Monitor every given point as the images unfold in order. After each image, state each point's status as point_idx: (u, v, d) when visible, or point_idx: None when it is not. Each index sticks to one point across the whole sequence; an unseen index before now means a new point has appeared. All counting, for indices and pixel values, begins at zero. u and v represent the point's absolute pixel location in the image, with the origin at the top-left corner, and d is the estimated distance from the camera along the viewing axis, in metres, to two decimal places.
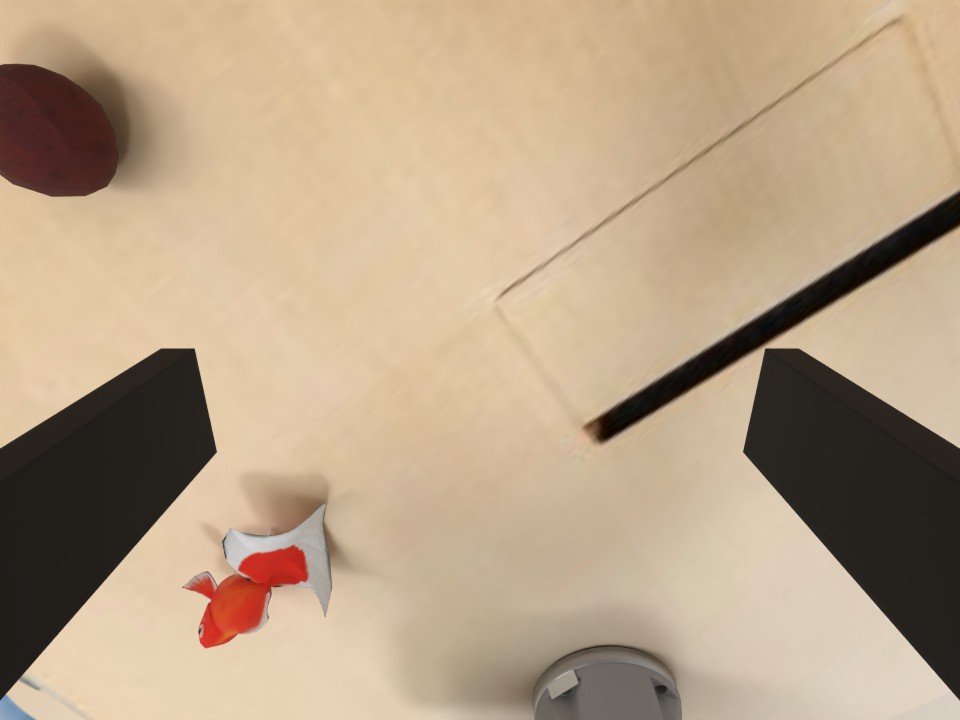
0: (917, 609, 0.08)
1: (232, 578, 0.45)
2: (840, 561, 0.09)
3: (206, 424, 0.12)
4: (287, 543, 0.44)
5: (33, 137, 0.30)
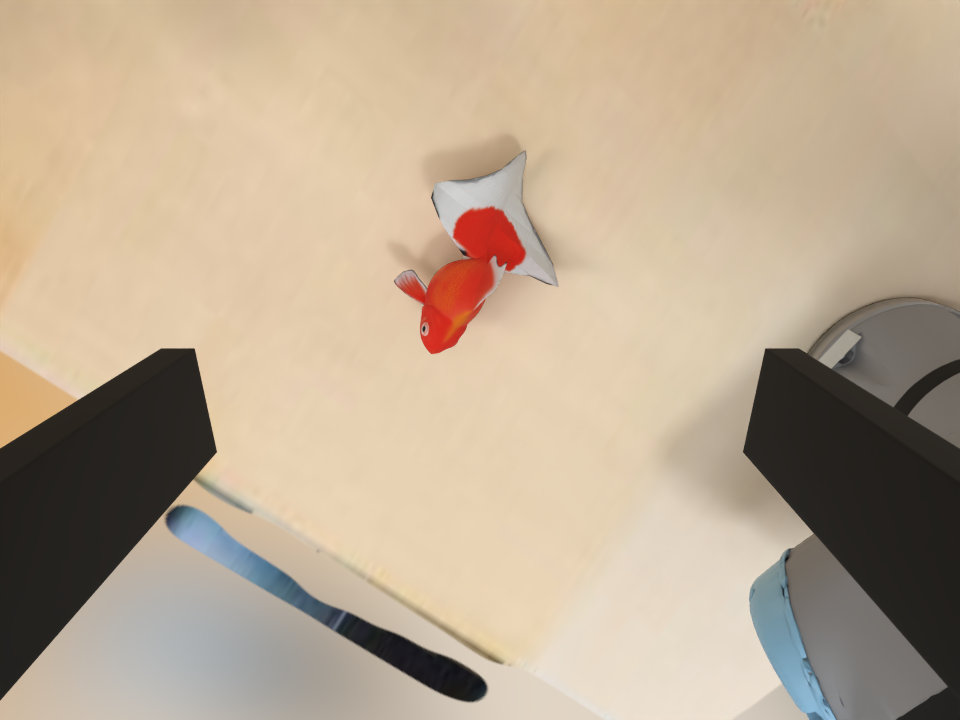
0: (916, 609, 0.08)
1: (444, 266, 0.39)
2: (840, 561, 0.09)
3: (206, 424, 0.12)
4: (498, 202, 0.38)
5: None
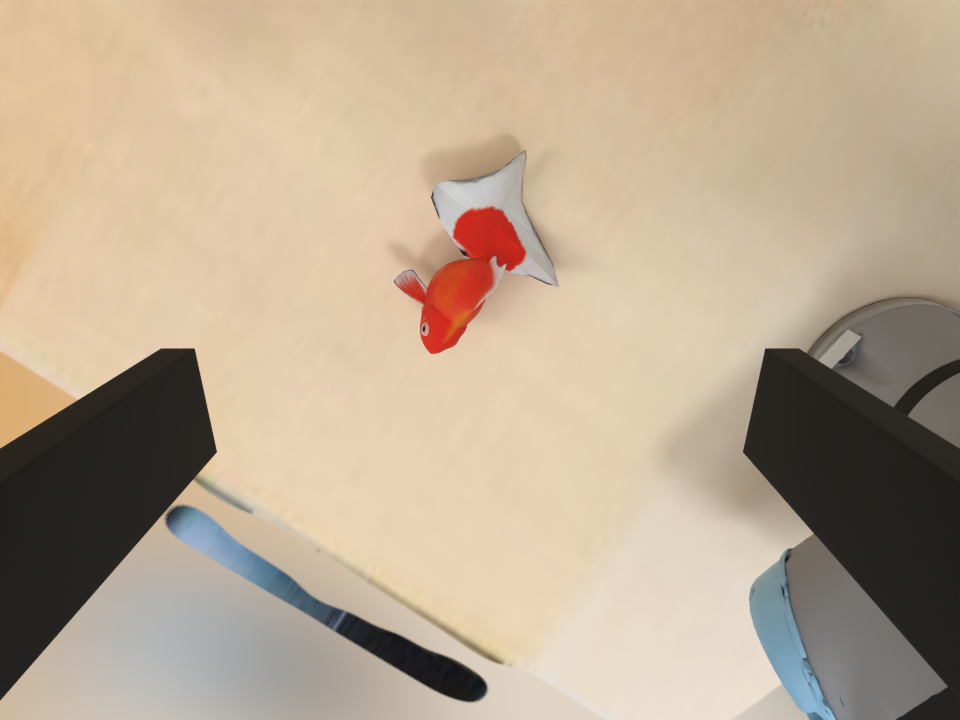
0: (916, 609, 0.08)
1: (444, 266, 0.39)
2: (840, 561, 0.09)
3: (206, 424, 0.12)
4: (498, 202, 0.38)
5: None
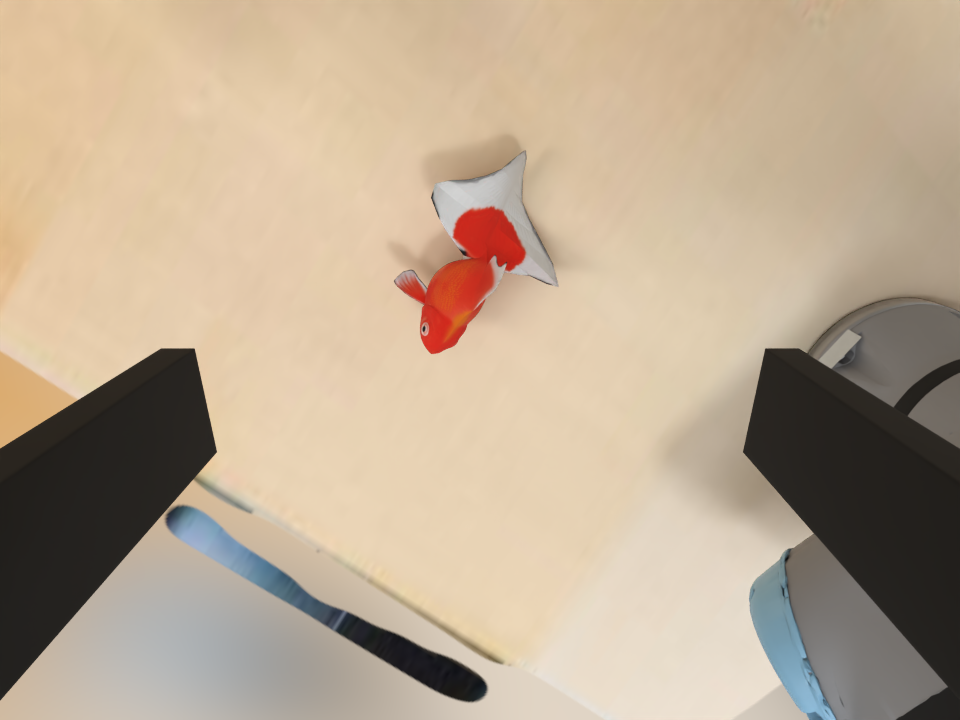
0: (916, 609, 0.08)
1: (444, 266, 0.39)
2: (840, 561, 0.09)
3: (206, 424, 0.12)
4: (498, 202, 0.38)
5: None
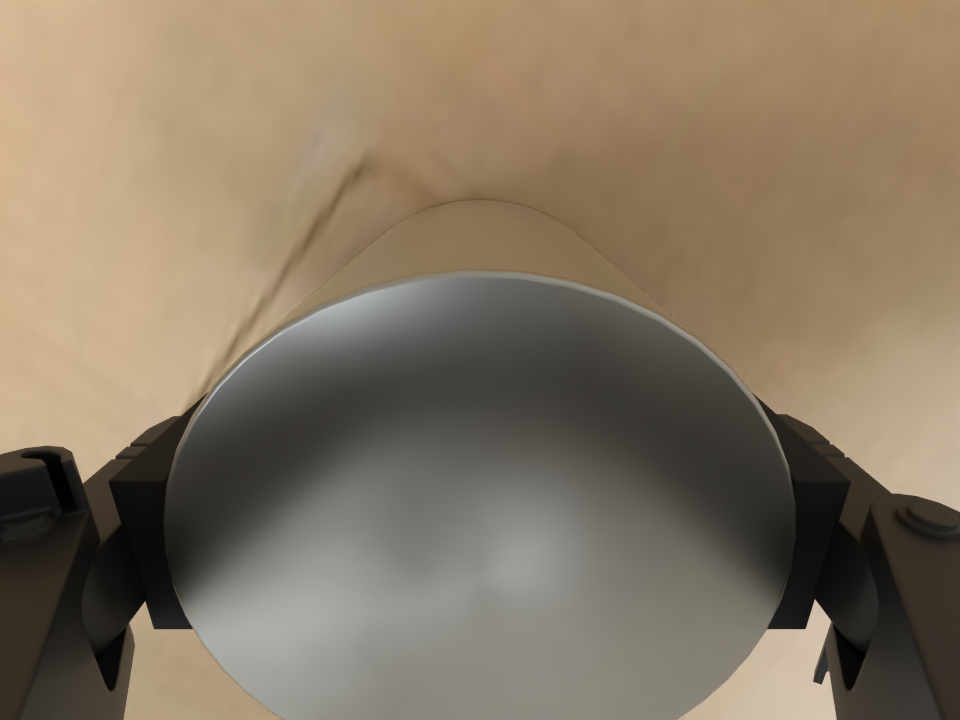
0: None
1: None
2: None
3: None
4: None
5: None
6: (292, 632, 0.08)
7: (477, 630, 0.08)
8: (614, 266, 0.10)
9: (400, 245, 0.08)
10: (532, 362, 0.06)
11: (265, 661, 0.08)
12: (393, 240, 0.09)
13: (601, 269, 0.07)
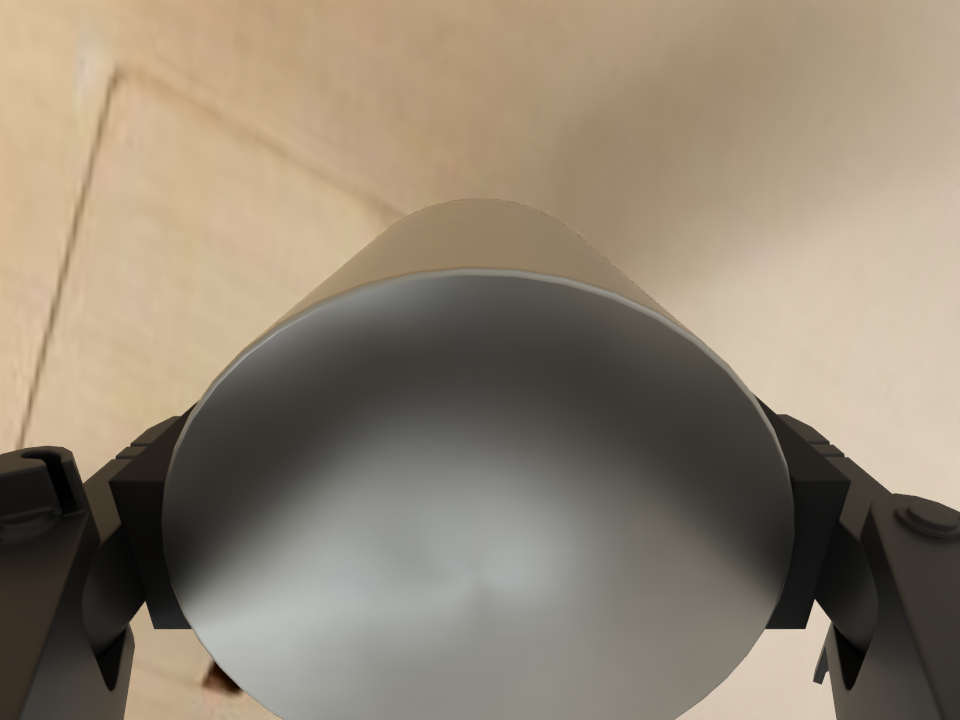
0: None
1: None
2: None
3: None
4: None
5: None
6: (290, 631, 0.08)
7: (476, 629, 0.08)
8: (613, 265, 0.10)
9: (398, 244, 0.08)
10: (529, 360, 0.06)
11: (264, 660, 0.08)
12: (392, 239, 0.09)
13: (599, 267, 0.07)
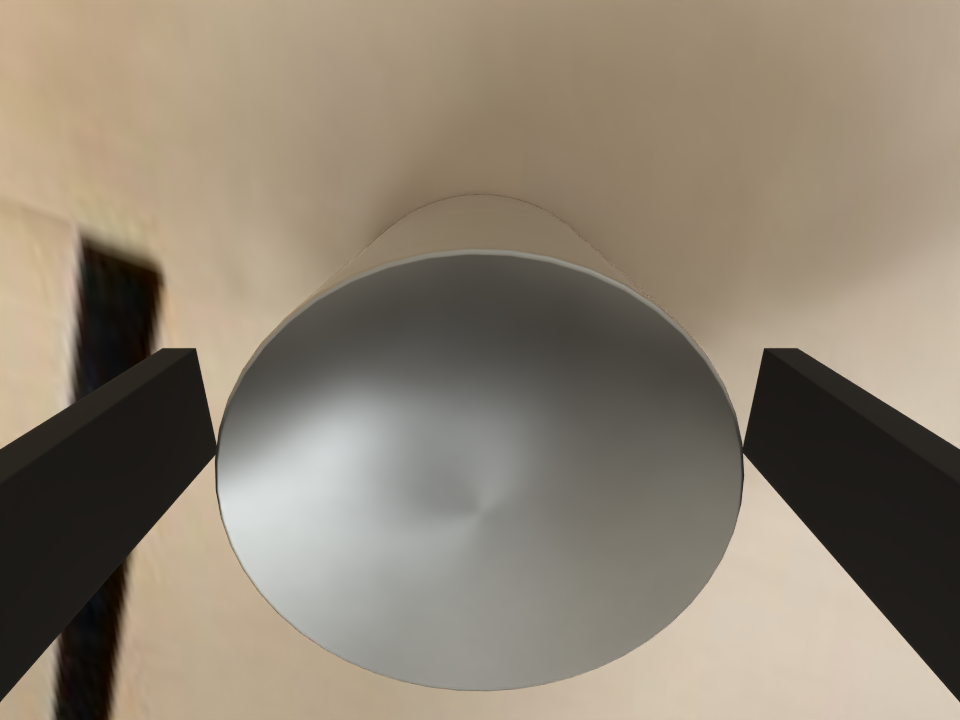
0: (915, 608, 0.08)
1: None
2: (838, 560, 0.09)
3: (207, 423, 0.12)
4: None
5: None
6: (321, 560, 0.09)
7: (478, 558, 0.09)
8: (597, 252, 0.11)
9: (411, 232, 0.09)
10: (522, 325, 0.07)
11: (297, 586, 0.09)
12: (404, 229, 0.11)
13: (582, 251, 0.09)
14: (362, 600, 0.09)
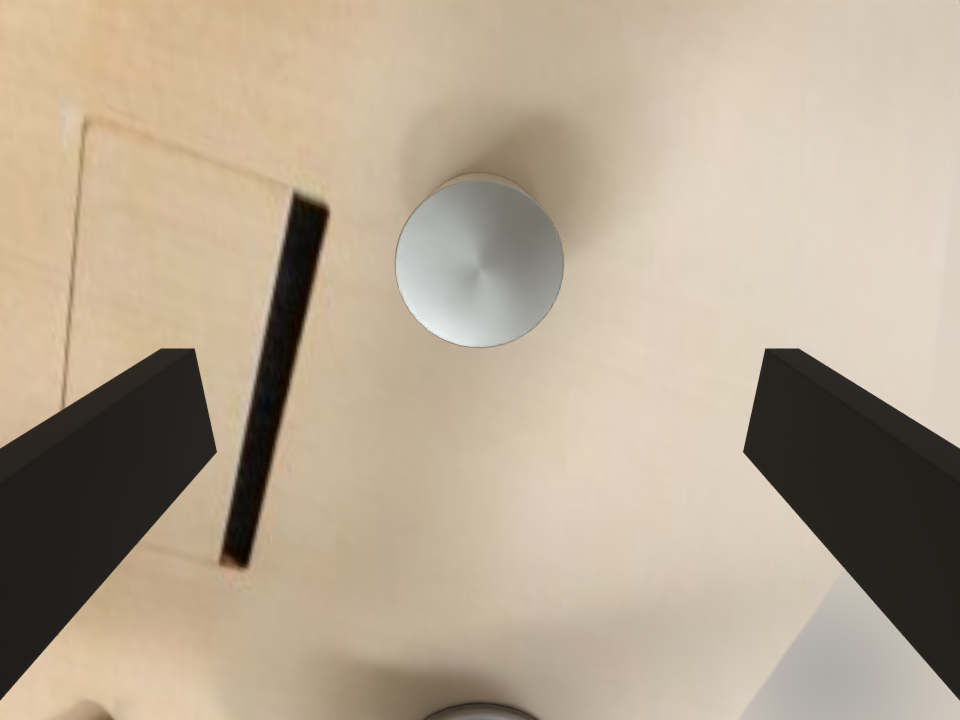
0: (917, 609, 0.08)
1: None
2: (840, 561, 0.09)
3: (206, 424, 0.12)
4: None
5: None
6: (426, 288, 0.27)
7: (479, 287, 0.27)
8: None
9: (455, 180, 0.27)
10: (491, 203, 0.25)
11: (417, 299, 0.27)
12: (451, 181, 0.29)
13: (513, 185, 0.27)
14: (439, 305, 0.27)
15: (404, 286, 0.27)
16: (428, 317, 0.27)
